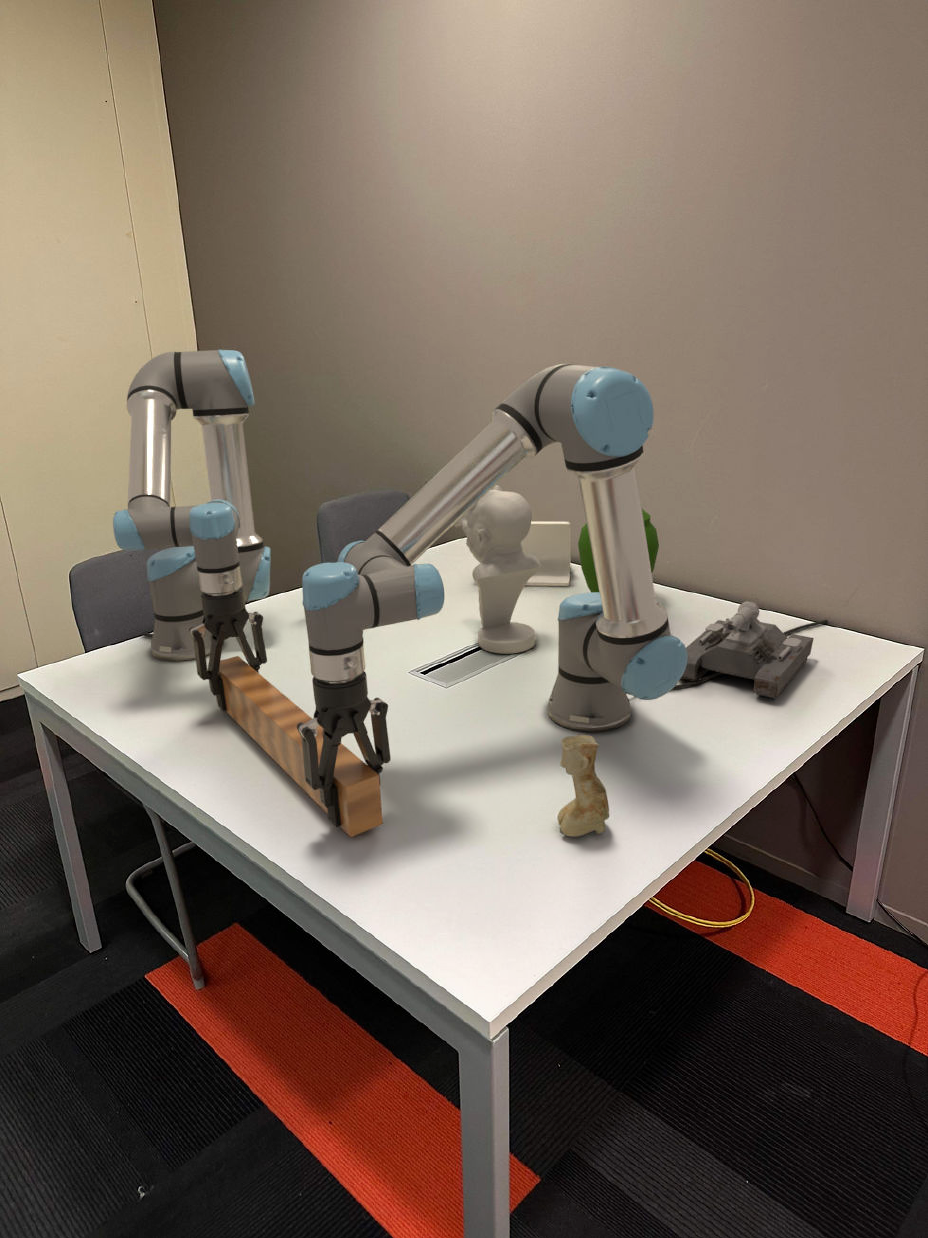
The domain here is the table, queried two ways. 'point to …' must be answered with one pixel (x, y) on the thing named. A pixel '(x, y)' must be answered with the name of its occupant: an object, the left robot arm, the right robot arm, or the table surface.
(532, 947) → the table surface
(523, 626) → the bust sculpture
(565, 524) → the tablet stand
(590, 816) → the sculpture
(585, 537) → the vase
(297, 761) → the bar
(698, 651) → the toy
